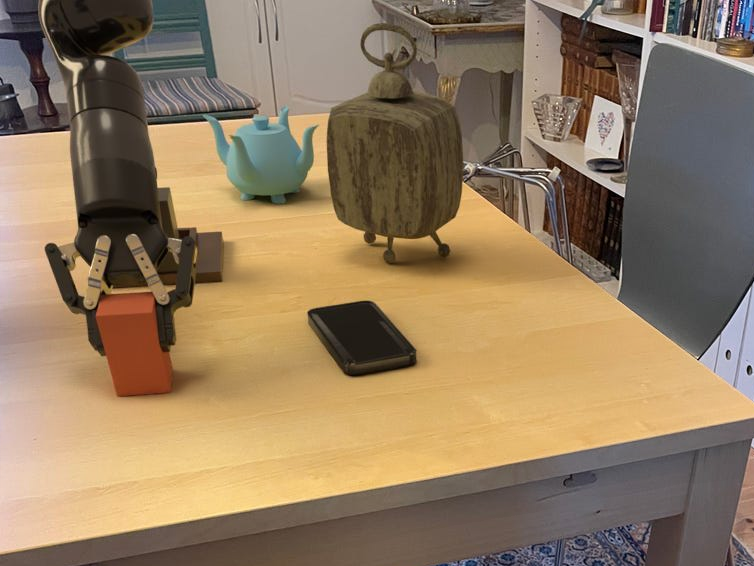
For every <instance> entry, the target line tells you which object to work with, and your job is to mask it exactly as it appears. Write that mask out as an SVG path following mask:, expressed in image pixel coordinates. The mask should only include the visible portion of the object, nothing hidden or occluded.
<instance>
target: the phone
mask: <svg viewBox="0 0 754 566" xmlns="http://www.w3.org/2000/svg"><path fill="white" fill-rule="evenodd" d="M306 314H307V321H308V325H309V326H310V327H311V329H312V330H313V332H314V333H315V335H317V338H318V339H319V340H320V341H321V343H322V344H323V345H324V347H325V348H326V350H327V351H328V352H329V354H330V355H331V357H332V358H333V359H334V361H335V362H336V363H337V365H338V366H339V368H340V369H341V370H342V372H343V373H344V374H346V375H349V376H360V375H366V374H370V373H376V372H381V371H382V372H383V371H387V370H392V369H398V368H399V369H400V368H404V367H405V368H406V367H410V366H413V365H415V364H416V363H417V361H418V359H417V349H416V347H414V345H413V344H412V343H411V342H410V340H408V338H407V337H406V336H405V335H404V334H403V333H402V332H401V330H400V329H399V328H398V327H397V326H396V325H395V324H394V322H393V321H392V320H391V319H390V318H389V317H388V316H387V315H386V313H385V312H384V311H383V310H382V309H381V308H380V306H379V305H378V304H377V303H376V302H375V301H373V300H366V299H365V300H357V301H351V302H345V303H338V304H332V305H325V306H319V307H313V308H311V309H308V310H307V312H306Z"/></svg>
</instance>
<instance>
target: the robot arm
mask: <svg viewBox="0 0 754 566" xmlns="http://www.w3.org/2000/svg"><path fill="white" fill-rule="evenodd" d="M37 11H38V13H37V14H38V20H39V23H40V26H41V30H42V32H43V34H44V37H45V39H46V41H47V43H48V46H49V48H50V50H51V53H52V56H53V59H54V61H55V64H56V67H57V69H58V72H59V75H60V77H61V79H62V82H63V85H64V88H65V93H66V104H67V111H68V112H67V113H68V121H69V122H68V123H69V132H70V133H69V134H70V135H69V156H70V166H71V175H72V184H73V185H72V186H73V193H74V201H75V210H76V219H77V232H76V235H75V237H74V240H73V242H71V243H67V244H64V245H63V244H62V245H59V246H58V245H57V244H56V243H54V242H48V243H47V244H45V245H44V252H45V255H46V259H47V260H48V263H49V266H50V269H51V272H52V274H53V277H54V280H55V282H56V285H57V288H58V292H59V293H60V296H61V299H62V301H63V303H64V304H65V305H66V307H67V308H68V309H69V310H70V312H71V313H72V314H74V315H84V316H85V320H86V322H85V323H86V329H87V340H88V342H89V343H90V346H91V347H92V348H93V350H94V351H97V352H98V354H99V356H100V357H106V353H105V349H104V346H103V342H102V338H101V335H100V331H99V327H98V323H97V320H96V313H97V309H98V306H99V302H100V298H101V295H105V294H112V292H113V289H114V288H113V286H117V285H123V284H126V283H133V284H146V282H147V284H148V288H149V290H150V292H152V293H153V294H154V296H155V298H156V300H157V307H155V310H156V319H157V328H158V337H159V345H160V347H161V349H162V351H163V352H169V353H171V352H172V351H171V349H172V348H171V347H172V346H176V343H177V333H176V324H175V312H176V311H177V310H178V309H180V308H190V307H191V306H192V305H193V301H194V300H193V299H194V292H195V285H196V283H195V278H196V270H197V263H198V251H197V247H196V244H195V241H194V239H193V238H192V237H190V236H185V237H184V238H183V239H182V240H180V239H174V238H168V237H167V235H166V234H165V232H164V231H163V229H162V222H161V213H160V205H159V196H158V188H159V186H158V169H157V167H156V163H155V162H156V161H155V156H154V151H153V150H154V149H153V146H152V143H151V138H150V133H149V126H148V116H147V108H146V100H145V92H144V88H143V83H142V80H141V78H140V76H139V73H138V72H137V71H136V70H135V68H133V66H131V65H130V64H129V63H128V62H126V61H125V60H123V59H120V58H118V57H115V56H110V55H111V54H112V53H115V52H116V51H119V50H122V49H123V48H125V47H128V46H130V45H133V44H135V43H137V42H139V41H142V40H143V39H145V38H146V37H147V36H148V35H149V34H150V33H151V31H152V28H153V25H154V19H155V18H154V17H155V15H154V13H155V12H154V5H153V1H152V0H38V6H37ZM169 251H170V252H172V253H173V257H174V259H175V262H176V263H177V264H178V272H177V279H176V284H175V288H174V289H172V290H169V291H167V289H166V288H165V285H163V284H162V282H161V280H160V278H159V276H158V274H157V272H156V271H157V269H158V268H159V266H160V265H161V263H162V261H163V260H164V258H165V257H166V255H167V253H168V252H169ZM79 257H80V258H81V259H82V260H83V261H84V262H85V263H86V264H87V265H88V266H89V267H90V269H89V273H88V276H87V287H86V291H85V293H84V296H83V295H80V294H79V292H78V289H77V286H76V284H75V282H74V279H73V276H72V273H71V272H73V271H74V270H75V269H76V260H77V259H78V258H79Z"/></svg>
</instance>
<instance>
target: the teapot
mask: <svg viewBox="0 0 754 566" xmlns="http://www.w3.org/2000/svg"><path fill="white" fill-rule="evenodd" d="M289 111H290V107H289V105H284V106H282V107H281V108H280V110H279V115H278V120H277V123H275V122H269V121H270V116H269V117H268V116H266V115H256V116H254V117H252V118H251V120H252V123H247V124H245V125H241V126H240V127H239V128H237V129H236V131H235V133H234V135H232V134H229V135H228V137H229V138H230V139H231V143H230V144H229V143H228V141H227V139H226V136H225V133H224V129H223V126H222V124H221V123H220V122H219V120H218V119H216V118H215V117H213V116H212V115H209V114H202V117H203V118H204V119H205V120H206V121H207V122H208V123H209V125H210V127H211V129H212V132H213V134H214V141H215V148H216V149H215V150H216V153H217V155H218V158H219V160H220V161H221V162H222V164H223V165H224V166H225V168H226V169H225V170H226V171H225V172H226V177H227V179H228V181H229V182H230V183H231V185H232V186H234V187H235V188H236V189H237V190H238V191H239V192H241V196H240V197H239V199H240V200H242V201H251V200H254V199H255V198H256V196H270V198H271V199H270V200H271V203H273V204H284V203H286V201H287V200H286V198H285V197H286V196H285V195H284V194H297V193H300V192H301V191H300V188H301V187H302V186H303V184H304V182H305V181H306V179H307V177H308V175H309V174H308V173H309V171H310V170H311V169H312V167H313V165H314V161H315V152H314V144H313V137H314V133H315V130H317V128H318V127H319V126H320V124H315V125H311V126H307V127H306V128H305V129H304V131H303V134H302V147H301V146H300V145H299V143H298V142H297V141H296V138H295V137H294V136H293V135H292V133H291V129H290V124H289Z"/></svg>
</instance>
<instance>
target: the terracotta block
mask: <svg viewBox="0 0 754 566" xmlns="http://www.w3.org/2000/svg"><path fill="white" fill-rule="evenodd" d="M155 307H157V300H156V298H155V296H154V294H153V293H152V292H151V291H141V292H124V293H123V292H121V293H111V294H105V295H101V298H100V302H99V306H98V309H97V313H96V320H97V323H98V327H99V331H100V335H101V338H102V342H103V346H104V349H105V353H106V356H105V357H106V360H107V364H108V368H109V371H110V375H111V377H112V378H111V379H112V382H113V387H114V389H115V394H116V396H117V397H126V396H138V395H141V396H142V395H152V394H154V395H155V394H166V393H171V390H172V380H173V371H174V368H173V363H172V359H171V355H170V352H163V351H162V349H161V347H160V345H159V337H158V328H157V319H156V310H155Z"/></svg>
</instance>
